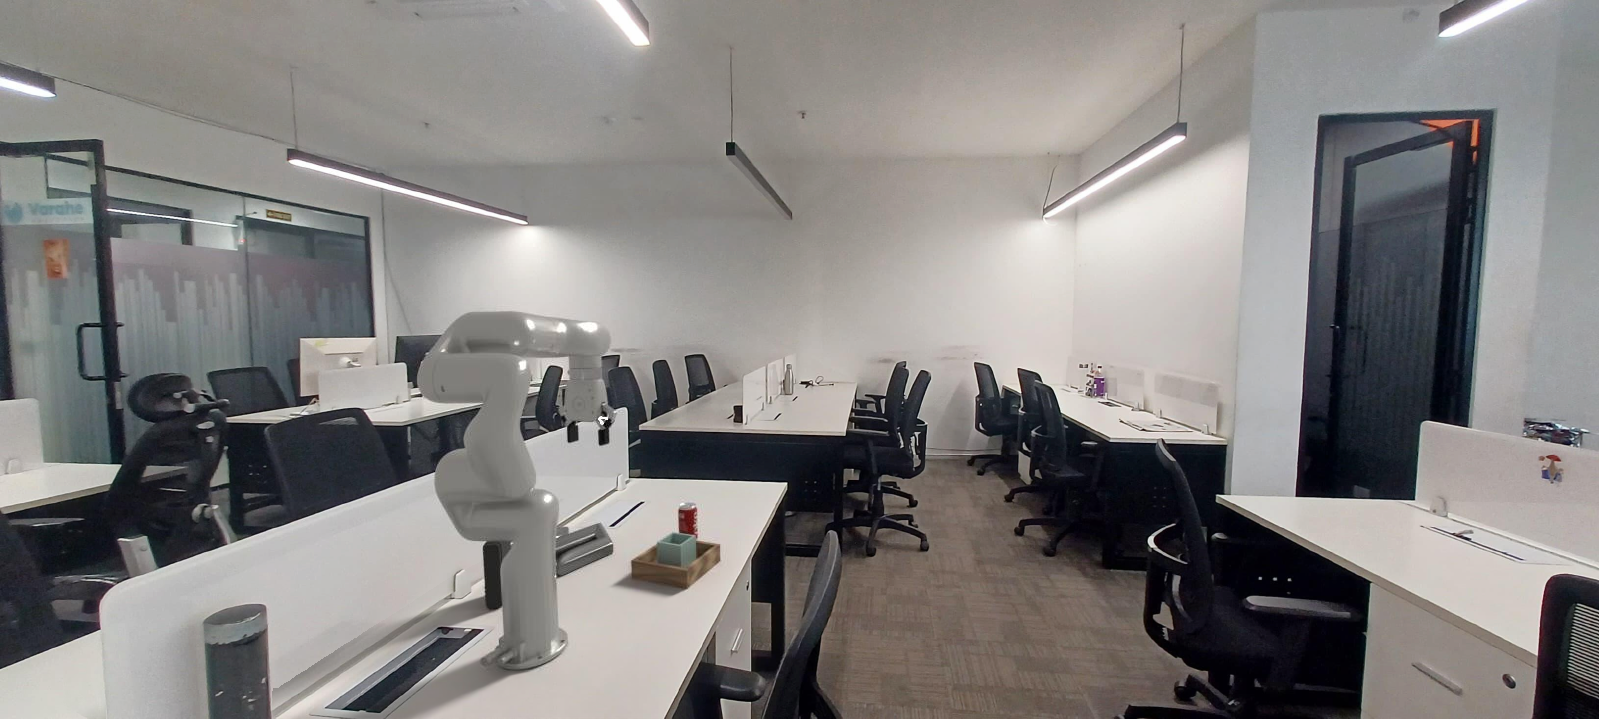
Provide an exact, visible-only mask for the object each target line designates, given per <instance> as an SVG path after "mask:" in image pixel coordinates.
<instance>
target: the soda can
mask: <svg viewBox="0 0 1599 719" xmlns="http://www.w3.org/2000/svg"><path fill="white" fill-rule="evenodd" d="M696 505H697V504H696V503H695V502H683V503H681V504H679V508H678V510H677V516H678V518H677V519H678V521H677V522H678V533H682V534H689V535H696V541H699V538H698V537H699V535H698V534H699V533H698V531H699V530H698V528H699V527H698V508H697V506H696Z"/></svg>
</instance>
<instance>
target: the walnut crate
mask: <svg viewBox="0 0 1599 719" xmlns="http://www.w3.org/2000/svg"><path fill="white" fill-rule="evenodd" d="M720 562H721V543H715V542H709V541H704V540H703V541H701V540H698V541H696V560H695V561H694V562H693V563H691V564H690V565H689V566H687V567H686V568H683V567H677V566H672V565H666V564H660V563H657V543H656V544H654V545H652V546H651V547H650V548H649V549H646V550H645V551H644V552H642V553H640V554H639V555H637V556H636V557H634V558H633V559H631V560H630V565H631V566H630V567H631V568H630V569H631V579H635V580H638V581H639V580H641V581H646V582H651V583H656V584H660V583H661V585H665V584H666V585H667V586H670V585H671V587H675V586H676V588H682V589H687V590H688V589H689V588H690V587H691V586H692V585H694V584H695V583H696V582H697V581H699V580H700V579H701V578H703V576H704V575H706V574H707V573H708V572H709V571H710V570H712V569H713V568H714V567H715V566H716V565H718V564H719V563H720Z"/></svg>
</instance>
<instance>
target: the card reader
mask: <svg viewBox="0 0 1599 719" xmlns="http://www.w3.org/2000/svg"><path fill="white" fill-rule="evenodd" d="M511 543H512V542H510V541H485V543H484V544H483V545H482V556H483V557H482V559H483V560H482V562H483V577H484V579H483V580H484V598H485V599H484V602H485V606H486V608H487V609H489V610H490V609H498V608H502V592H501V574H500V569H501V564H502V561H503V559H504V557H505V556H506V555H507V553H508V552H509V551H510V550H511V545H512V544H511Z"/></svg>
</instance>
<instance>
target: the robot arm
mask: <svg viewBox="0 0 1599 719" xmlns="http://www.w3.org/2000/svg"><path fill="white" fill-rule="evenodd" d="M611 341H612V339H611V333H610V331H609V329H608V328H607V326H605V325H604V324H603V323H599V322H594V321H587V320H578V319H577V320H576V319H568V318H564V317H563V318H560V317H552V316H545V315H537V314H533V313H528V312H522V311H512V310H509V311H504V310H503V311H502V310H501V311H468V312H466V313H464V314H462V315H460V316H459V317H458V318H456V319H455V320H454V321H453V322H452V323H451V324H450V325H449V326H448V328H446V330H445V331H443V333H442V334H441V336H440V337H439V339H438V340H437V341H436V342H435V344H434V345H433V347H431V349H430V350H429V351H428V353H427V354H426V355H425V357H424V358H423V360H422V361H421V363H420V366H419V367H418V371H417V376H416V380H417V381H416V383H417V388H418V390H419V392H420V394H421V395H422V396H423V397H424V398H425V399H426V400H428V401H430V402H433V403H436V404H451V405H452V404H482V406H481V407H480V409H479V410H478V413H477V414H476V415H475V416H474V417H473V418H472V420H471V421H470V422H469V424H468V425H467V427H466V429H465V432H464V435H463V445H464V448H458V449H455V450H451V451H450V452H448V453H446V454H445V455H444V456H442V458H441V459H440V460H439V462H438V463H437V466H436V468H435V472H434V481H433V482H434V490H435V493H436V496H437V498H438V500H439V502H440V503H441V506H442V507H443V509H444V512H445V513H446V514H447V516H448V519H450V521H451V523H452V525H453V526H454V528H455V530H456V532H458V534H459V535H460V536H461V537H462V538H463V539H465V540H467V541H471V542H486V541H510V542H511V543H512V544H513V546H512V548H511V550H510V551H509V552H508V553H507V555H506V556H505V557H504V559H503V561H502V564H501V569H500V574H501V592H502V606H501V608H502V609H501V610H502V629H503V635H502V636H500V637H498V645H497V646H495V648H494V650H492V651H490V652H488V653H487V654H485V655H484V656H482V657H481V658H480V665H481V666H482V667H483V668H485V669H486V668H488V667H489V666H491V665H493V664H495V663H496V664H497V665H498V666H499V667H501V668H503V669H506V670H525V669H530V668H534V667H537V666H542V665H543V664H545V663H548V662H550V661H552V660H553V659H555V658H556V657H558V656H559V655H560V654H561V653H562V652H564V650H565V649H566V648H567V646H568V643H569V642H568V641H569V636H568V633H567V630H566V631H565V630H564V629H563V628H560V626H559V608H558V607H559V605H558V583H557V574H556V566H557V563H556V531H557V528H558V524H559V517H560V516H559V515H560V502H559V500H558V497H556V495H555V494H554V493H553V492H550V491H549V490H546V489H542V488H535V486H536V483H537V474H536V472H537V471H536V470H535V469H536V468H535V465H534V463H533V460H532V458H531V455H530V452H529V450H528V447H527V445H526V442H525V440H524V437H523V434H522V432H521V420H522V419H521V418H522V414H523V411H524V408H525V404H526V402H527V399H528V398H527V397H528V395H529V391H530V386H531V382H532V373H531V368H530V365H529V363H528V362H527V360H526V358H531V359H532V358H533V359H534V358H536V359H537V358H538V359H541V358H542V359H551V358H552V359H553V358H555V359H556V358H568V370H567V375H568V376H569V377H568V378H569V380H567V381H566V383H565V389H564V391H565V392H564V405H562V406H560V407H559V408H558V409H557V410H558V413H559V415H560V418H561V420H562V422H563V423H564V427H566V439H567V440H566V441H567V443H568V444H571V443H575V442H577V441H579V438H580V437H579V434H580V433H579V425H578V424H577V423H578V422H583V423H584V422H585V423H594V422H595V423H596V425H597V426H598V427H599V429H598V431H597V435H598V436H597V437H598V439H597V440H598V445H599V447H602V446H606V445H609V444H610V428H612V425H613V424H614V423H615V420H616V418H617V415H618V411H617V410H615V409H614V408H613V407H612V406H610V405H609V402H608V395H607V394H608V393H607V389H606V384H605V380H604V379H603V368H602V365H603V364H602V356H604V355H606V354H607V352H609V349H610V347H611V343H612V342H611Z"/></svg>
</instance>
